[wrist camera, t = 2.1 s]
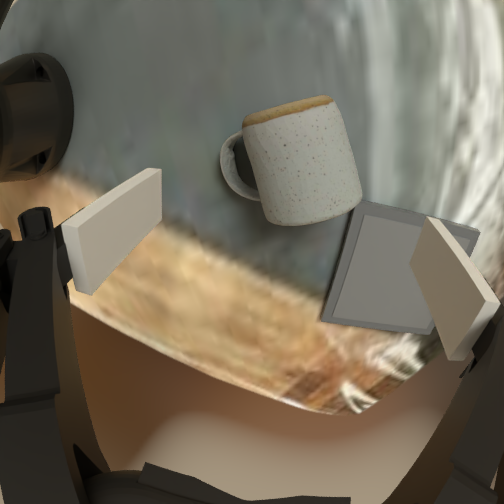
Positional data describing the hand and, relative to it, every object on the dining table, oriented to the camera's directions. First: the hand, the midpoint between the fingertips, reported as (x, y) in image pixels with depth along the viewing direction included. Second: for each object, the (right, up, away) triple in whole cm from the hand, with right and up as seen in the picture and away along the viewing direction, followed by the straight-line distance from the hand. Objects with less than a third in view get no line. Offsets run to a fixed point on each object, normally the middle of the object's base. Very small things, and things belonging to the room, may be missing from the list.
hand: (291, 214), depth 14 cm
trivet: (+13, -4, +15) cm, 20 cm away
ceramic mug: (+1, +7, +11) cm, 13 cm away
